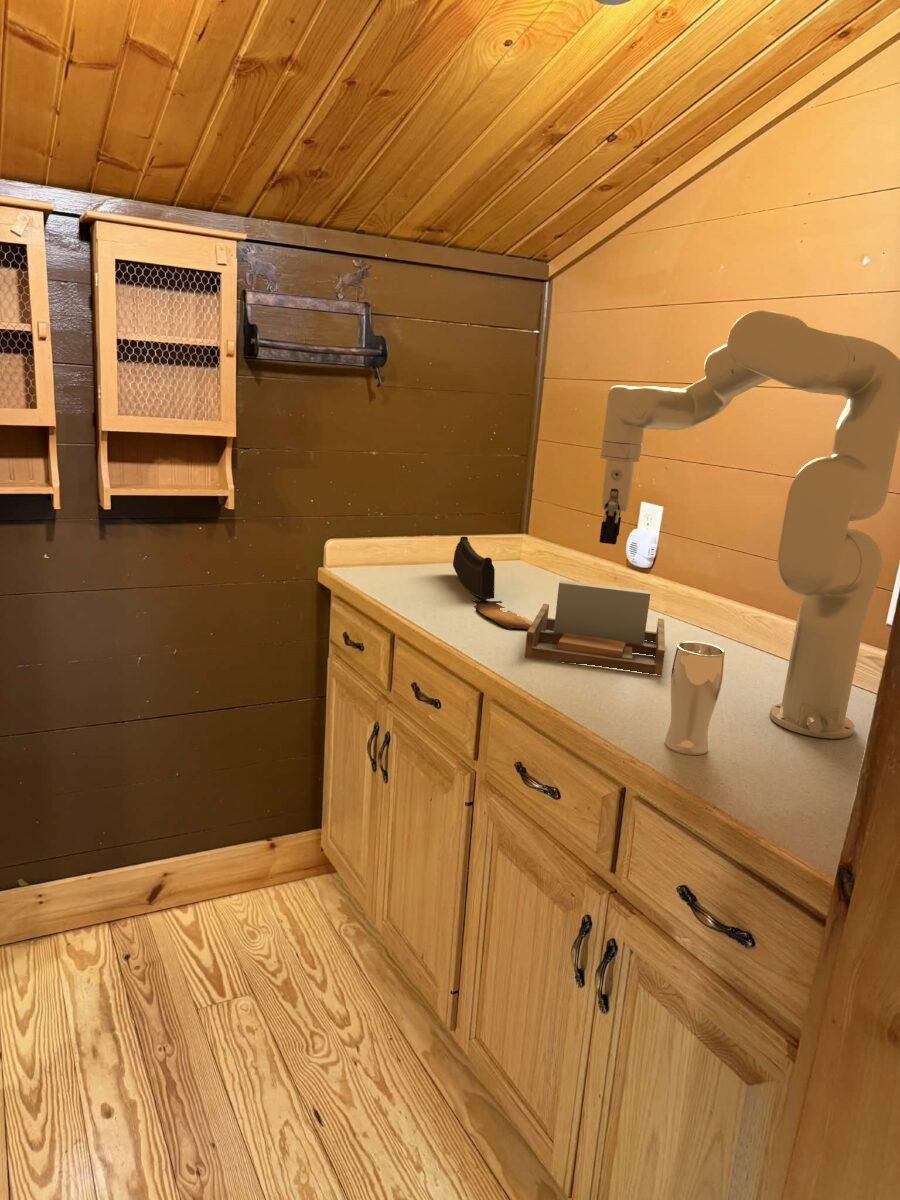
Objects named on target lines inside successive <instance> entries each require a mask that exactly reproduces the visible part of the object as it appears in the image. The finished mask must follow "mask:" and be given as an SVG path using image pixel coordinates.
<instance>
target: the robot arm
mask: <svg viewBox="0 0 900 1200" xmlns="http://www.w3.org/2000/svg"><path fill="white" fill-rule="evenodd" d="M704 376H705V377H704V378H702V379H700V380H697V382H694V383H693V384H691V385H688V386H686V387H684V388H674V387H665V386H663V387H661V386H660V387H659V386H631V385H630V386H628V385H614V386H611V387H610V389H609V390H608V395H607V401H606V410H605V417H604V424H603V433H602V441H601V448H600V455H599V457H600V459H603V460H605V465H604V466H605V467H604V476H603V483H602V495H601V496H602V497H601V498H602V499H601V500H602V501H601V509H602V510H603V511H604V514H603V519H602V520H603V521H601V525H600V526H601V527H600V533H599V543H600V544H608V545H616V544H617V541H618V537H619V534H620V530H621V529H620V527H621V521H622V520H621V519H622V516H621V514H622V513H621V512H622V511H623V514H626V513H627V512H628V510H629V505H630V498H631V492H632V491H631V490H632V483H633V476H634V463H637V462H638V463H639V462H640V461H641V460H640V458H641V451H642V444H643V440H644V439H643V437H644V431H645V429H647V430H668V431H669V430H670V431H680V430H681V431H682V430H683V431H684V430H687V429H691V428H692V427H694V426H697V425H699V424H701V423H703V422H706V421H708V420H709V419H712V418H714V417H716V416H717V415H719V414H720V413H721V412H723V411H724V410H725V409H726V408H727V407H728V406H729V405H730V403H731V402H732V401H733V399H734V398H736V397H737V396H739V395H741V394H743V393H746V392H747V391H749V390H750V389H751V390H752V389H753V388H755V387H757V386H759V385H762V384H763V383H766V382H768V381H770V380H774V381H776V382H778V383H781V384H783V385H786V386H788V387H791V388H793V389H795V390H799V391H803V392H806V393H807V392H808V393H810V394H811V393H813V394H823V395H828V396H829V395H834V396H841V397H844V398H845V399H846V400H847V402H846V405H845V406H844V407H845V408H844V409H843V410H842V412H841V414H840V417H839V418H838V421H837V423H836V427H835V430H834V437H833V442H832V448H831V452H830V455H829V456H821V457H818V458H815V459H813V460H811V461H809V462H807V463H806V464H805V465H804V466H802V467H801V468H800V470H799V471H798V472H797V473H796V475H795V476H794V479H793V480H792V482H791V484H790V487H789V491H788V495H787V499H786V503H785V510H784V517H783V522H782V528H781V534H780V540H779V545H778V552H777V569H778V573H779V576H780V577H779V578H780V579H781V580H782V582H783V584H784V585H785V586H786V587H787V588H788V589H789V590H790V591H792V592H794V593H795V594H798V595H802V596H803V597H802V600H801V603H800V606H799V610H798V612H797V618H796V624H795V629H794V633H793V637H792V638H793V639H792V644H791V649H790V650H791V651H790V656H789V661H788V667H787V673H786V678H785V683H784V690H783V695H782V699H781V703H777V704H774V705H772V706H771V707H770V709H769V717H770V719H771V720H772V722H773V723H775V724H777V725H778V726H779V727H782V728H784V729H786V730H789V731H791V732H795V733H797V734H801V735H805V736H809V737H813V738H821V739H832V740H835V739H845V738H849V737H851V736H852V735H853V734H854V732H855V728H856V726H855V724H854V722H852V720H851V719H849V718H848V717H846V716H847V711H848V705H849V700H850V696H851V693H852V692H851V691H852V686H853V682H854V676H855V672H856V671H855V670H856V666H857V660H858V656H859V652H860V647H861V641H862V636H863V632H864V628H865V622H866V618H867V614H868V611H869V606H870V603H871V600H872V598H873V594H874V593H875V590H876V587H877V584H878V582H879V580H880V579H879V578H880V575H881V572H882V567H883V566H882V565H883V558H882V557H883V556H882V553H881V552H882V551H881V549H880V547H879V544H877V542H876V541H875V540H874V539H873V538H872V537H871V536H870V535H869V534H867V533H865V532H863V531H862V530H857V529H853V528H848V526H849V523H850V522H855V521H862V520H863V521H864V520H866V519H869V518H870V519H871V518H872V517H874V516H876V515H877V514H878V513H879V512H880V511H881V510H882V508H883V507H884V505H885V503H886V500H887V496H888V492H889V489H890V488H889V486H890V482H891V477H892V471H893V467H894V461H895V456H896V451H897V446H898V440H899V434H900V358H899V357H898V356H897V355H895V353H893V351H891V350H890V349H888V348H887V347H885V346H883V345H881V344H879V343H877V342H875V341H872V340H869V339H865V338H861V337H856V336H850V335H843V334H838V333H834V332H827V331H823V330H819V329H817V328H813V327H810V326H808V325H807V324H806V322H804V321H803V320H802V319H800V318H799V317H796V316H793V315H790V314H785V313H781V312H777V311H771V310H765V309H762V310H761V309H760V310H759V309H758V310H752V311H749V312H748V313H745V314H744V315H742V316H740V317H739V318H738V319H737V320H736V321H735V322H734V323H733V325H732V326H731V328H730V329H729V331H728V335H727V340H726V344H724V345H722V346H721V347H718V348H716V349H714V350H713V351H711V352H710V353H709V354H708V355H707V357H706V358H705V361H704Z"/></svg>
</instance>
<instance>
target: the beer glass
mask: <svg viewBox="0 0 900 1200" xmlns="http://www.w3.org/2000/svg"><path fill="white" fill-rule="evenodd" d="M725 654H726V651H725V650H724V649H722V648H721V647H719V646H716V645H714V644H710V643H707V642H706V643H705V642H698V641H681V642H679V643H677V645H676V650H675V653H674V659H673V661H672V662H673V664H672V668H671V675H670V712H671V713H670V722H669V727H668V730H667V733H666V736H665V739H664V745H665V747H666V748H668V749H670V750H671V751H673V752H675V753H679V754H681V755H687V756H701V755H705V754H706V753H707V752H708V749H709V740H708V738H709V736H708V734H709V732H708V731H709V727H710V726H709V725H710V721H711V718H712V715H713V712H714V710H715V708H716V705H717V703H718V698H719V696H720V692H721V690H722V683H723V677H724V667H725Z"/></svg>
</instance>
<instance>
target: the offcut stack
mask: <svg viewBox="0 0 900 1200" xmlns="http://www.w3.org/2000/svg"><path fill="white" fill-rule="evenodd" d="M557 648H558V649H557V650H563V651H570V652H577V653H584V654H591V655H599V656H606V657H613V658H620V659H627V660H633V654H632V647H628V646H626V642H624V641H617V640H610V639H604V638H597V637H590V636H584V635H577V634H571V633H564V635H563V636H562V637H561V639H560V640H559V642H558V644H557Z"/></svg>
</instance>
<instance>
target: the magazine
mask: <svg viewBox="0 0 900 1200" xmlns="http://www.w3.org/2000/svg"><path fill="white" fill-rule="evenodd" d="M469 541H470V540H469V538H468V536H460V539H459V542H458V543H457V545H456V547H455V550H454V554H453V561H452V566H453V569H454V571H455V573H456V575H457V577H458V578H459V581H460V582H461V584H462V585H463V586H464V588H465V589H466V590H467V591H468V592H469V593H471V594H473V596H476V597H479V598H480V599H483V600H491V599H495V570H496V569H495V567H494V565H493V559H492V558H491V557H483V556H481V555H480V554H478V553H477V552H476V551H475V549H474V548H473V547H472V545H471V543H470V542H469Z"/></svg>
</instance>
